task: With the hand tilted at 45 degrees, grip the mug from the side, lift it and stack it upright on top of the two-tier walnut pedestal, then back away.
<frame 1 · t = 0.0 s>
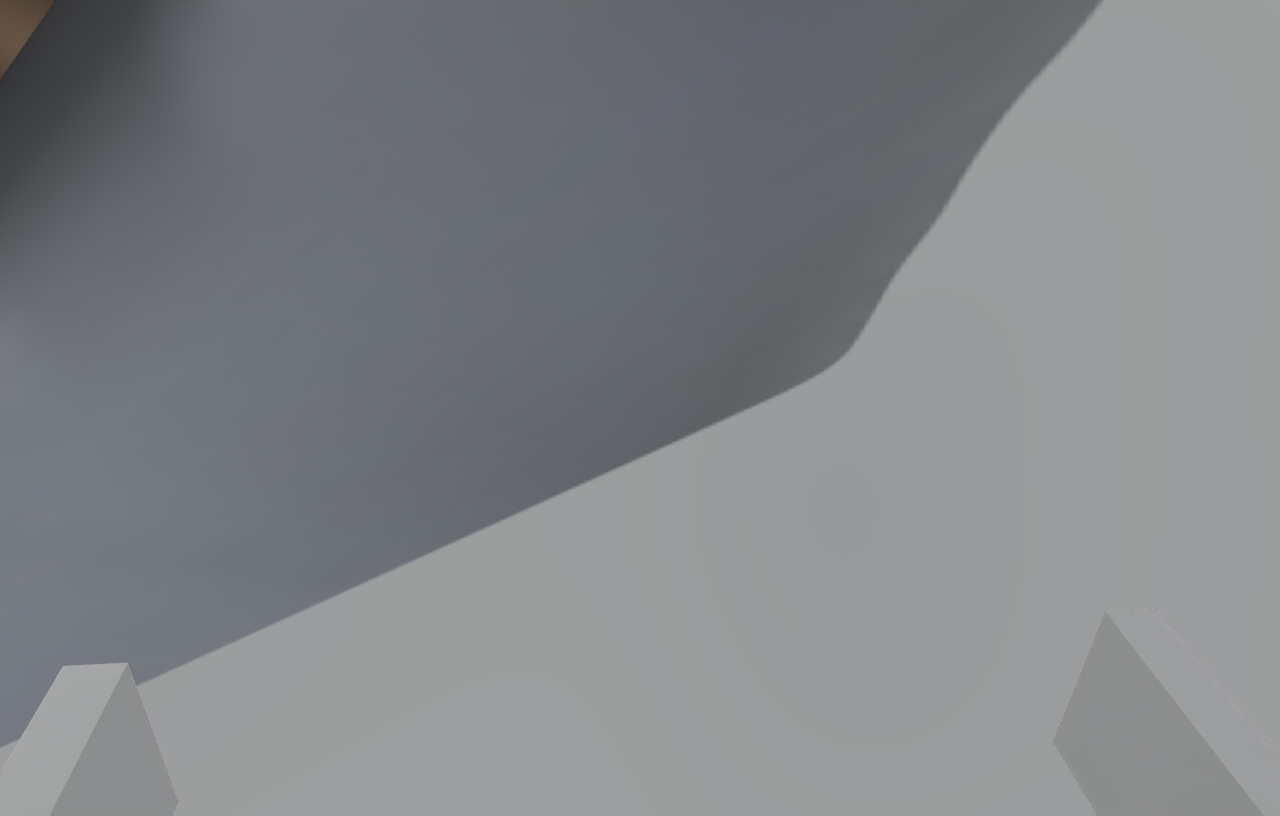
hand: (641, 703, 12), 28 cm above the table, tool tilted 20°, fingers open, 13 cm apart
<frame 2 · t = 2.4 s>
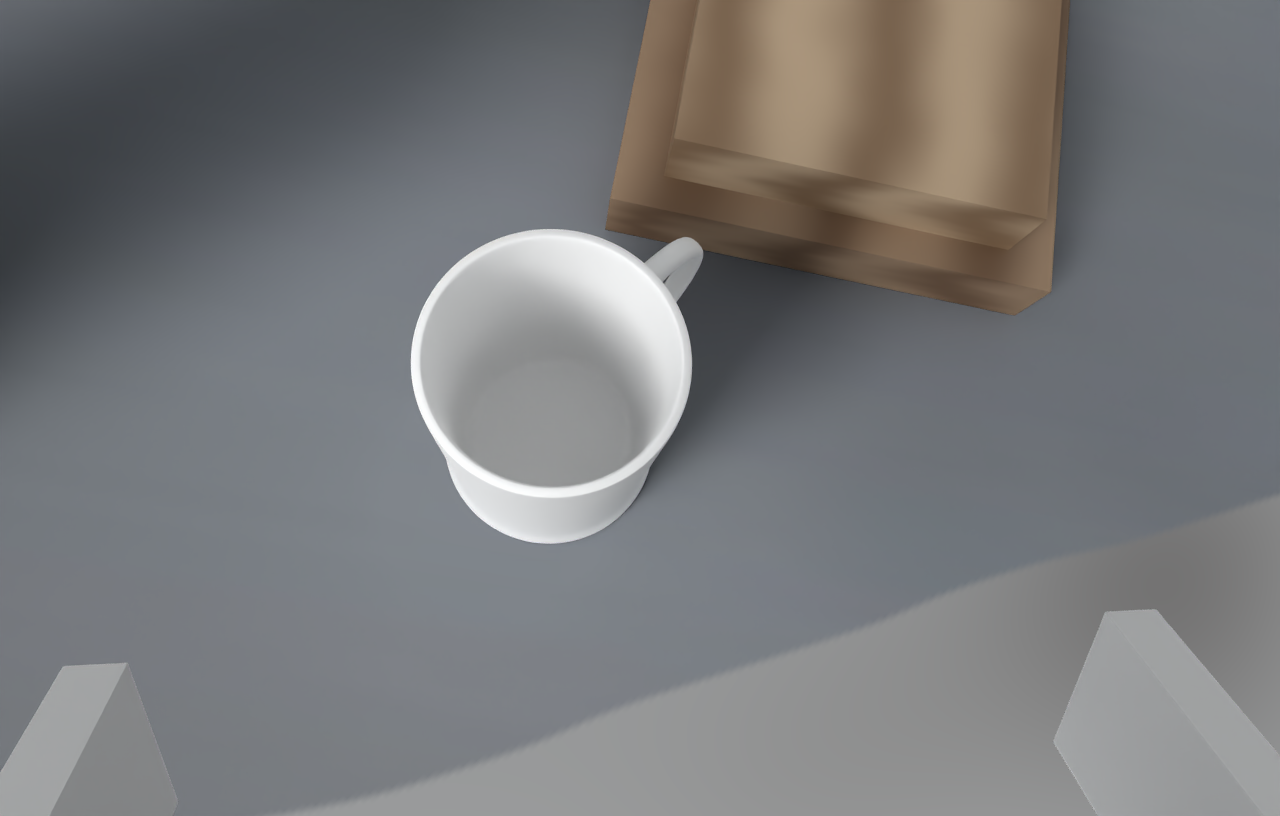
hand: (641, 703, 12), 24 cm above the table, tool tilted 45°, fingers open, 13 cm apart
mug: (579, 416, 38), on the table
pedestal: (836, 99, 42), on the table
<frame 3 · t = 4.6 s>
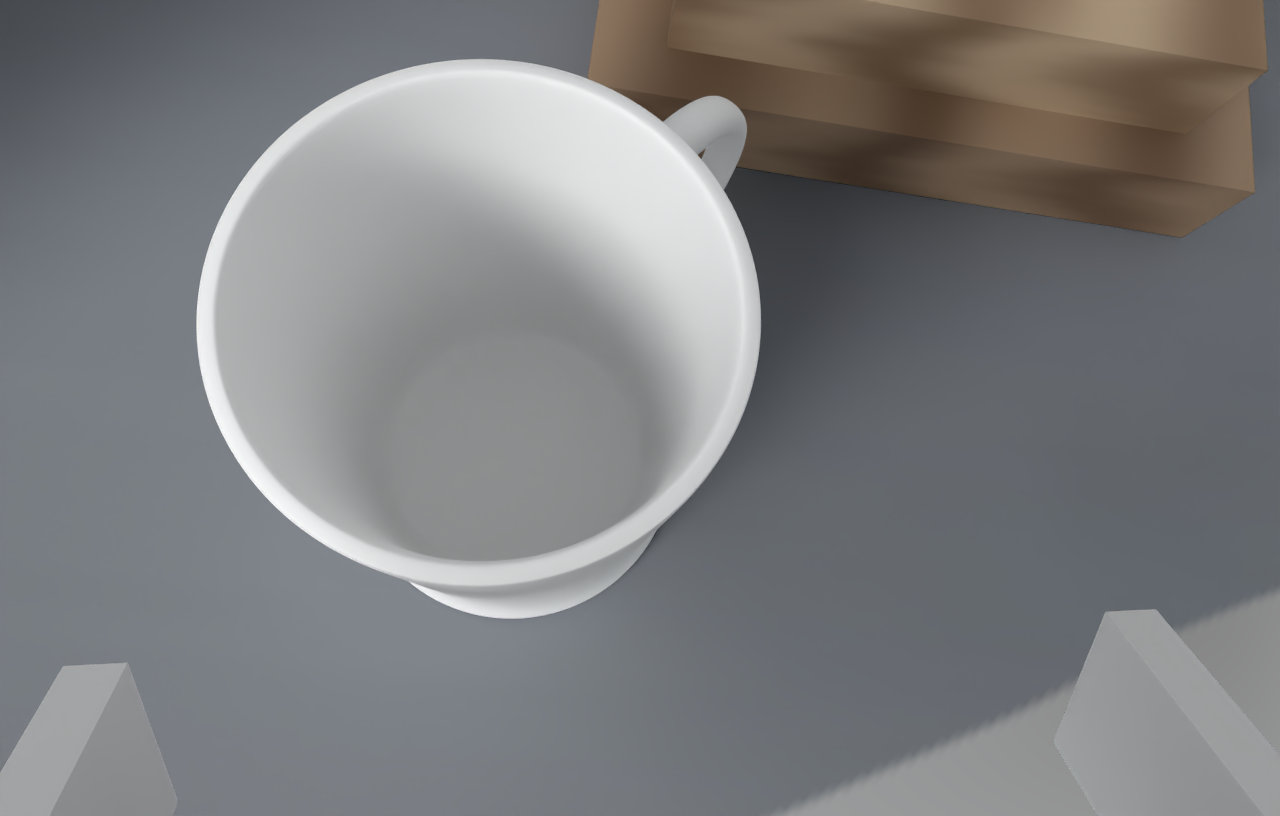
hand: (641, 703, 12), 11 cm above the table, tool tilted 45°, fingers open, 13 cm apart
mug: (559, 418, 25), on the table
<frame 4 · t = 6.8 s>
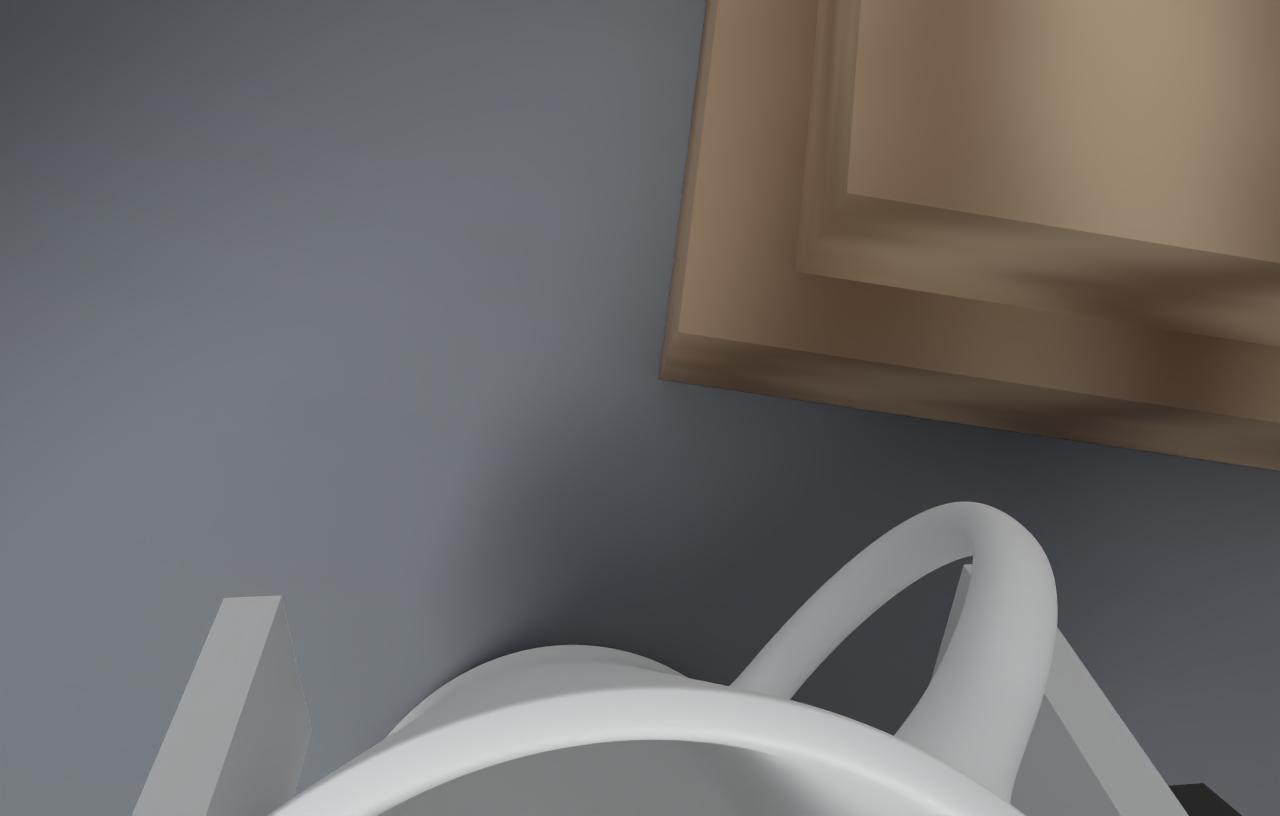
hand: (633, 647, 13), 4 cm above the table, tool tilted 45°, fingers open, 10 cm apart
pedestal: (1091, 82, 22), on the table
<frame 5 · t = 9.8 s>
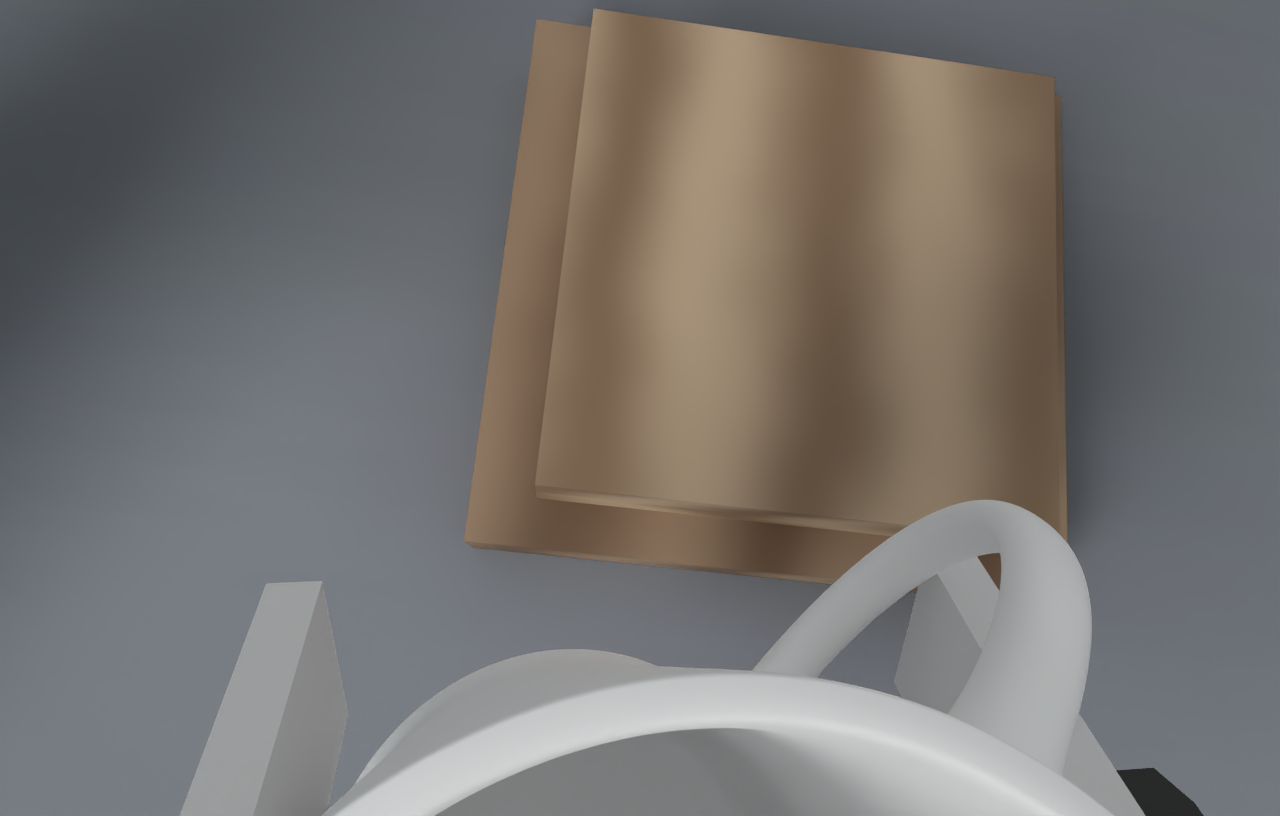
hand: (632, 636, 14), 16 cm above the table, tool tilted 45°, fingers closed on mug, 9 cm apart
pedestal: (768, 325, 32), on the table
when the fingers open (11 cm above the table, at t = 12.5 s): mug drops 2 cm, resting on pedestal.
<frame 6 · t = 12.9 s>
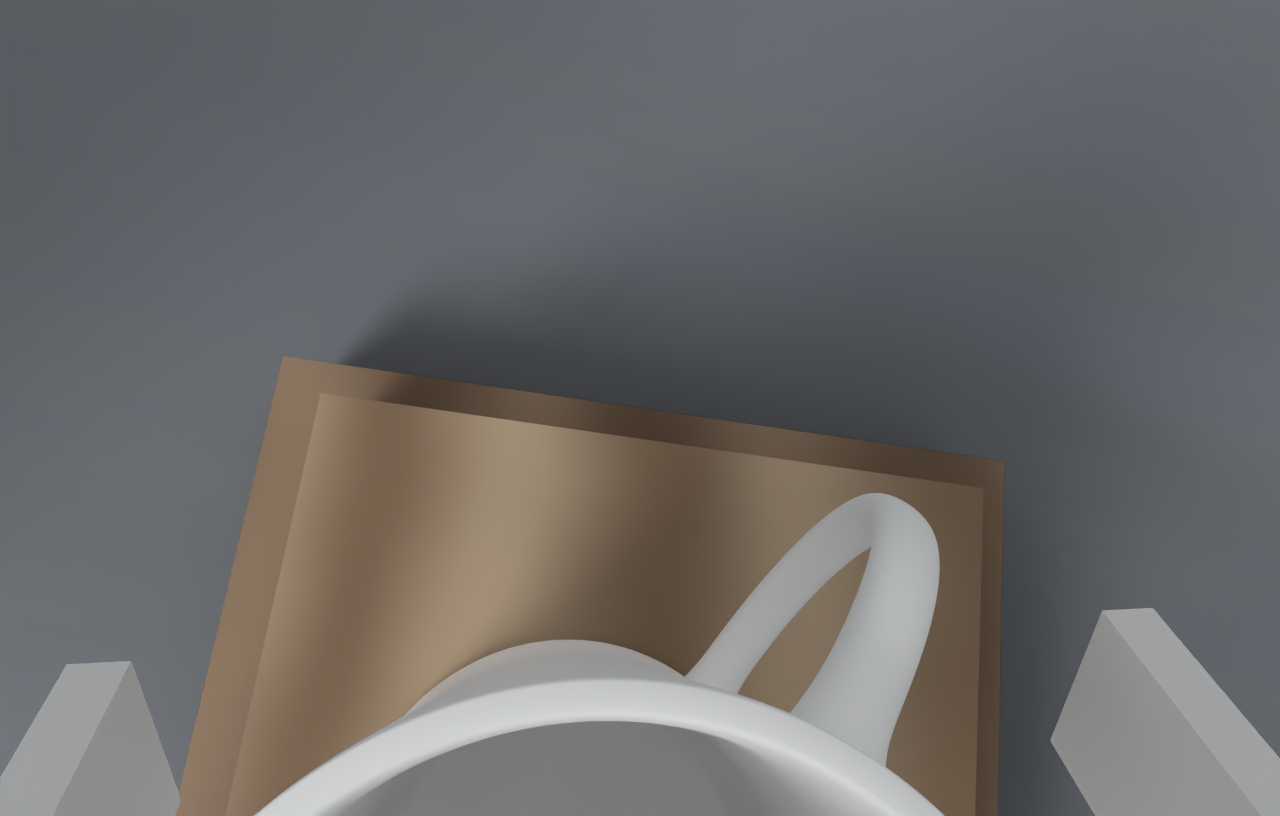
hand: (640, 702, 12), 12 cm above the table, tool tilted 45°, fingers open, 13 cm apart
mug: (616, 793, 18), point 6 cm above the table, touching pedestal
pedestal: (600, 761, 24), on the table
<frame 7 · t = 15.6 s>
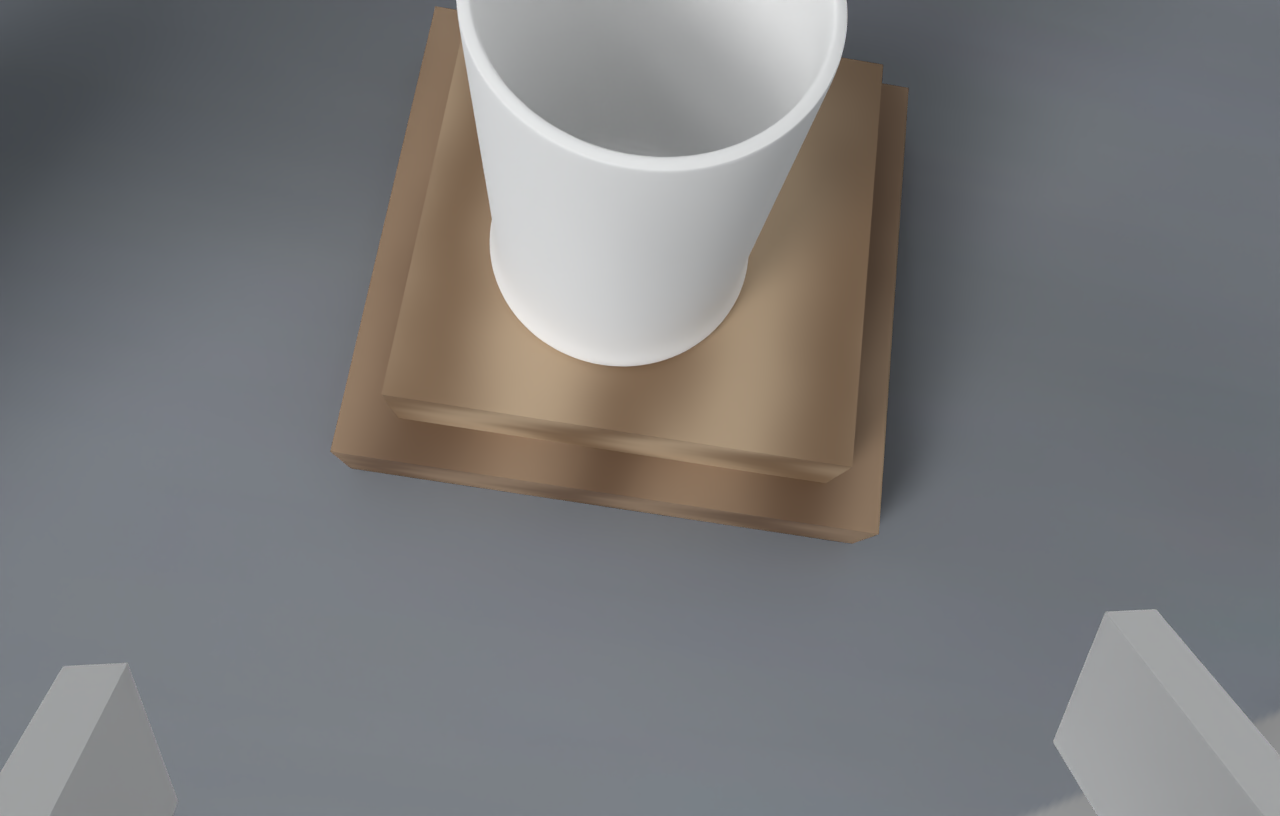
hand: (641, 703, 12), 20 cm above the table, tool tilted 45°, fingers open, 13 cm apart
mug: (651, 216, 30), point 6 cm above the table, touching pedestal
pedestal: (637, 285, 36), on the table
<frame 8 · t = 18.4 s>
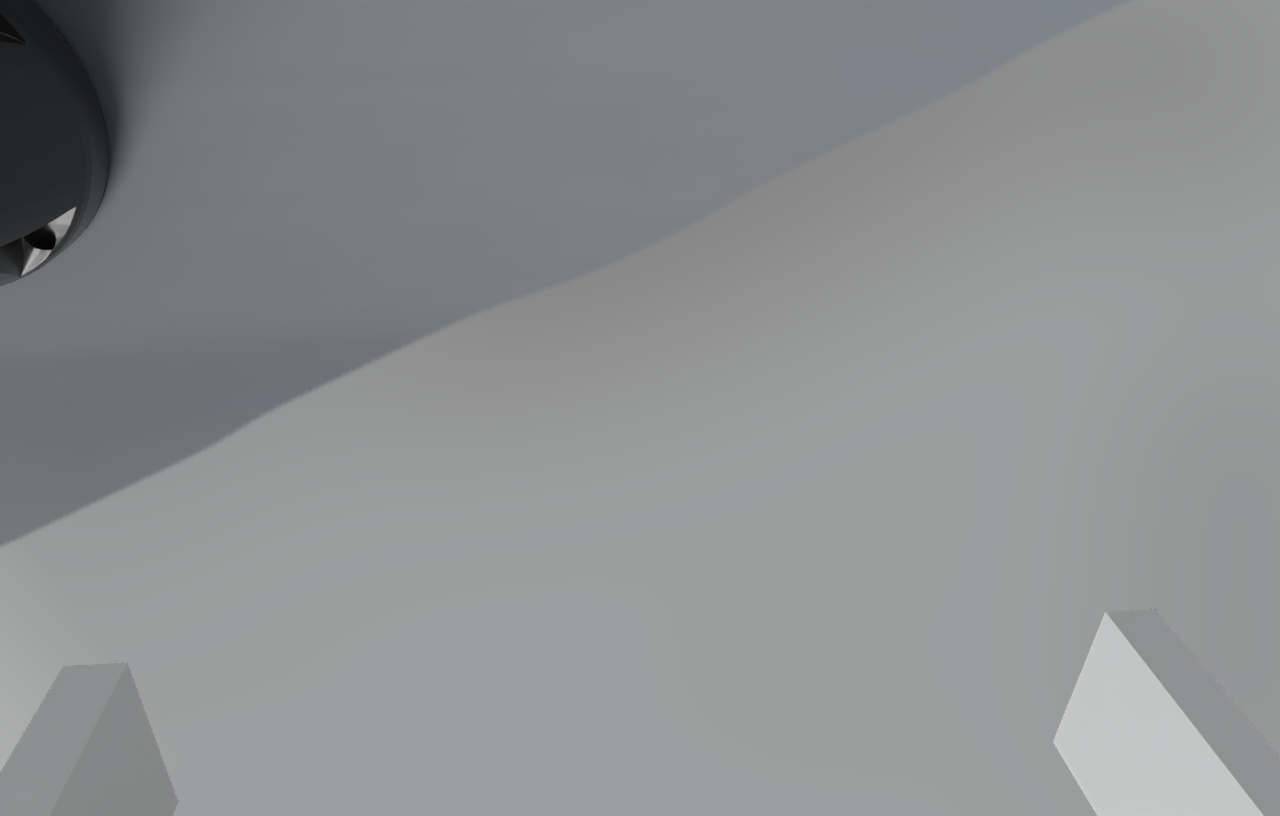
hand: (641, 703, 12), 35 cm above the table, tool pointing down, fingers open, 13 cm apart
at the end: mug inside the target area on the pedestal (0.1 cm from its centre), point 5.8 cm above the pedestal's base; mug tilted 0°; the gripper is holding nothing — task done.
